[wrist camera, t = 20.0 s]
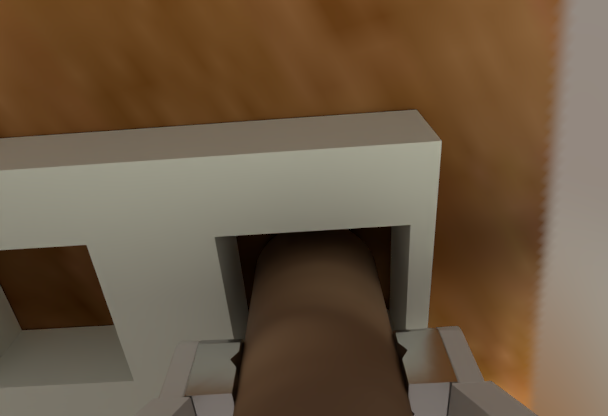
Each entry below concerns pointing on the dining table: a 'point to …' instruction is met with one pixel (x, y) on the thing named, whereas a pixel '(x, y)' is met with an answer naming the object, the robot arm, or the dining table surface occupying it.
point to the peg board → (196, 236)
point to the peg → (319, 332)
